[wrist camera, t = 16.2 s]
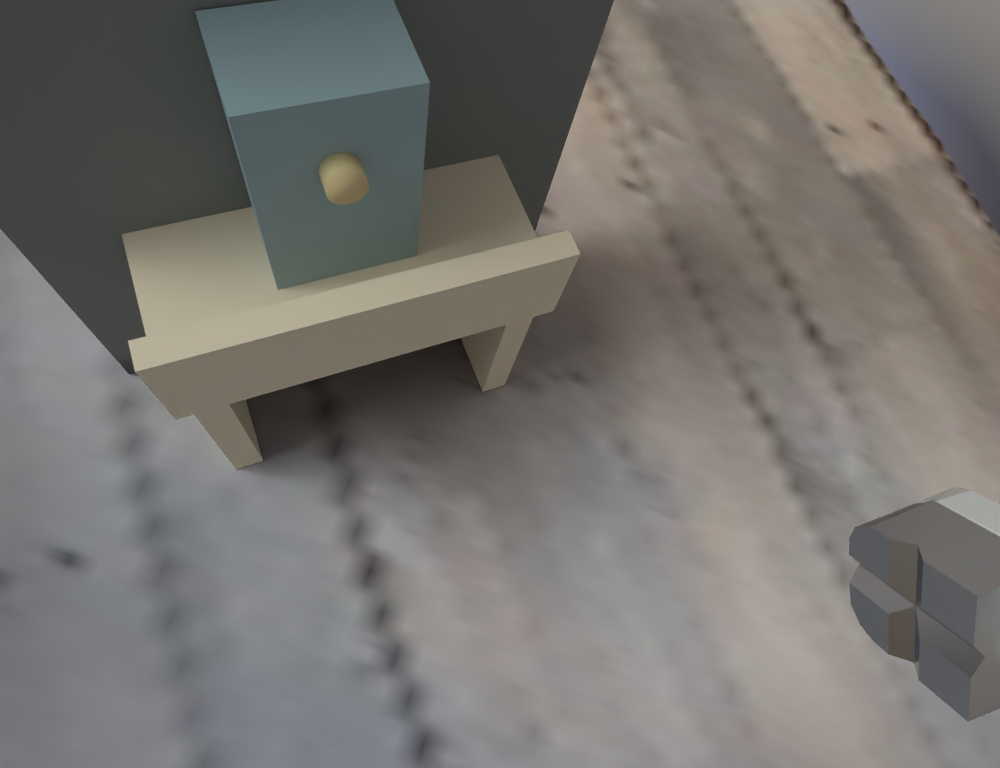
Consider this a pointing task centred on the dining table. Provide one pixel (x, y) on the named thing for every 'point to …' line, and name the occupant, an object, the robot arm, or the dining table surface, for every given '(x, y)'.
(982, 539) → the robot arm
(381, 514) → the dining table surface
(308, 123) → the small cabinet
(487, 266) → the wall board
